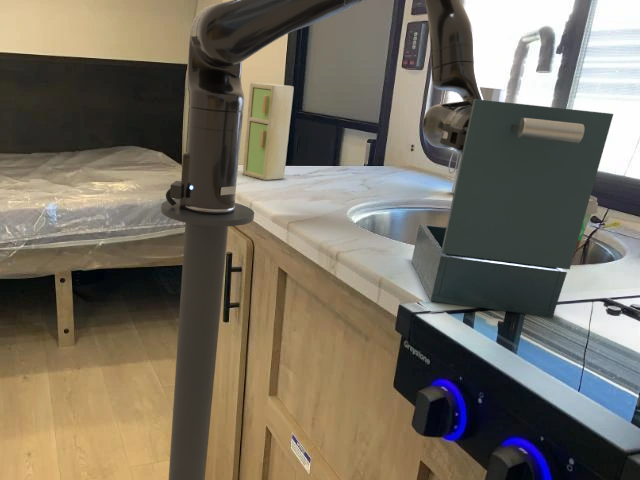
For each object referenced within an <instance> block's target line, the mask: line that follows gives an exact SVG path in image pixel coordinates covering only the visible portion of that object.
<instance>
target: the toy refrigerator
mask: <svg viewBox="0 0 640 480" xmlns="http://www.w3.org/2000/svg"><path fill="white" fill-rule="evenodd" d="M249 84H250V85H249V95H248V96H249V97H248V107H247V118H246V131H245V141H244V142H245V143H244V153H243V165H242V166H243V167H242V174H243V175H245V176H249V177H253V178H256V179H258V180H259V179H260V180H264V181H269V180H270V181H271V180H283V179H284V178H285V172H286V164H287V163H286V162H287V153H288V144H289V136H290V135H289V134H290V126H291V118H292V117H291V116H292V110H293V109H292V108H293V100H294V90H295V89H294V88H295V87H294V86H293V85H285V84H277V83H266V82H265V83H264V82H250V83H249Z"/></svg>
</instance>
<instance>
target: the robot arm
mask: <svg viewBox="0 0 640 480" xmlns="http://www.w3.org/2000/svg"><path fill="white" fill-rule="evenodd" d="M365 1H366V0H229V1H223V2H218V3H215V4H210V5H207V6H206V7H204V8H202V9H201V10H200V11H199V12H198V13H197V14H196V15H195V17H194V19H193V20H192V23H191V26H190V32H189V41H188V42H189V43H188V59H187V61H188V64H187V90H188V113H187V129H186V145H185V152H184V153H183V154H182V159H181V160H182V162H181V178H180V180H175V181H173V182H172V183H171V184H170V188H169V189H168V190H167V191H166V193H165V200H166V201H168V202H169V203H170V204H171V205H172V206H173V205H175V204H176V202H175V201H174V200H173V199H180V209H184V210H188V211H191V212H195V213H200V214H208V215H224V214H230V213H233V212H234V209H235V205H234V203H236V192H237V182H238V170H239V159H240V151H241V139H242V129H243V118H244V110H245V109H244V106H245V94H244V91H243V87H242V68H243V62H244V61H245V60H247V59H248V58H250V57H251V56H253V55H254V54H256V53H258V52H259V51H260V50H262V49H265V48H266V47H267V46H268V45H271V44H272V43H274V42H275V41H277V40H279V39H280V38H282V37H283V36H286V35H288V34H290V33H292V32H295V31H298V30H300V29H304V28H306V27H310V26H312V25H315V24H318V23H320V22H322V21H325V20H327V19H329V18H332V17H334V16H336V15H339V14H342V13H343V12H345V11H348V10H349V9H352V8H355V6H358V5H360V4H362V3H363V2H365ZM424 3H425V9H426V14H427V21H428V31H429V46H430V48H429V49H430V67H431V69H430V70H431V82H432V86H433V87H434V89H436V90H439V91H445V92H453V93H456V94H457V95H459V96H460V98H461V101H453V102H445V103H438V104H434V105H432V106H431V107H430V108H428V110H427V111H426V112H425V114H424V116H423V119H422V132H423V135H424V138H425V139H426V141H427V142H428V143H429V144H430V145H431V146H433V147H435V148H440V149H441V148H442V149H453V150H454V149H455V150H454V152H456V153H457V154H458V153H459V156H460V155H462V152H463V147H464V143H465V138H466V133H467V129H468V124H469V119H470V115H471V110H472V105H473V101H474V99H479V100H483V98H482V95H481V92H480V89H479V87H480V86H479V82H478V78H477V72H476V53H475V40H474V39H475V37H474V30H473V26H472V23H471V21H470V18H469V16H468V13H467V11H466V9H465V7H464V4H463V2H462V0H424Z"/></svg>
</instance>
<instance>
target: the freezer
mask: <svg viewBox="0 0 640 480" xmlns="http://www.w3.org/2000/svg"><path fill="white" fill-rule="evenodd" d="M446 227H447V226H443V225H436V224H427V223H419V225H418V230H417V234H416V238H415V244H414V248H413V253H412V257H411V264H412V265H413V267H414V269H415V271H416V274H417V276H418V278H419V280H420V282H421V284H422V286H423V289H424V291H425V292H426V294H427V296H428V299H429V301H430V302H433V303H434V302H435V303H442V304H449V305H455V306H456V305H458V306H464V307H472V308H478V309H479V308H480V309H488V310H495V311H502V312H508V313H509V312H510V313H517V314H525V315H533V316H539V317H548V318H554V315H555V312H556V309H557V305H558V301H559V299H560V296H561V293H562V289H563V286H564V283H565V281H566V277H567V275H568V272H567V271H566V269H562V268H554V267H546V266H538V265H531V264H523V263H515V262H507V261H499V260H492V259H484V258H476V257H468V256H460V255H452V254H445V253H442V252H441V251H442V246H443V241H444V237H445V232H446Z"/></svg>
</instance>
